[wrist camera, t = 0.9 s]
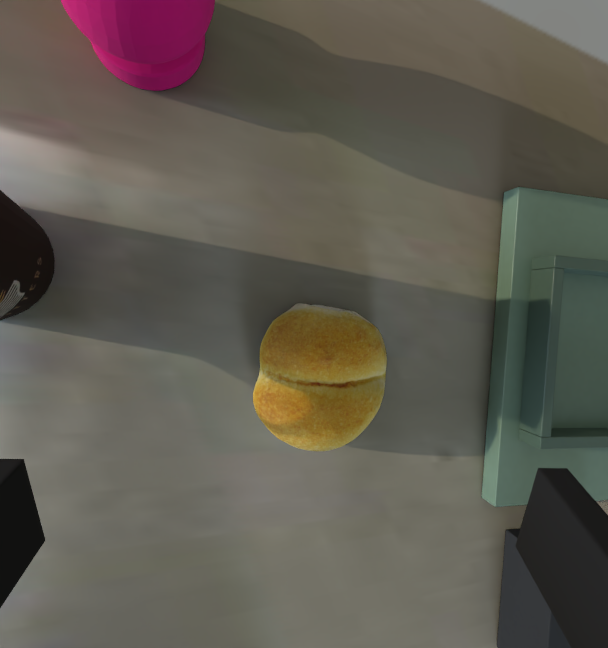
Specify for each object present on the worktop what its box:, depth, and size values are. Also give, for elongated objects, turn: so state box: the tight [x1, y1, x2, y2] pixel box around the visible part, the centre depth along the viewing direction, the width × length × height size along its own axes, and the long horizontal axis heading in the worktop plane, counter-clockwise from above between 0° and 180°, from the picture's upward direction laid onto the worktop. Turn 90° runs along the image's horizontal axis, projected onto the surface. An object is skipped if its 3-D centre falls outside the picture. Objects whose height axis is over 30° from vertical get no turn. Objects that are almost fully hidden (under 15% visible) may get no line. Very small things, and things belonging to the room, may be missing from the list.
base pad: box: [482, 187, 608, 507], centre depth 30 cm, size 22×14×4 cm, turn 176°
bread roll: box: [253, 303, 387, 451], centre depth 25 cm, size 8×9×4 cm
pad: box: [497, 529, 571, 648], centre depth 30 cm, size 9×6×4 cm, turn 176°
